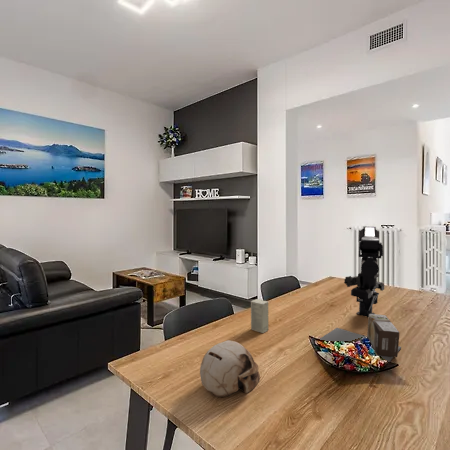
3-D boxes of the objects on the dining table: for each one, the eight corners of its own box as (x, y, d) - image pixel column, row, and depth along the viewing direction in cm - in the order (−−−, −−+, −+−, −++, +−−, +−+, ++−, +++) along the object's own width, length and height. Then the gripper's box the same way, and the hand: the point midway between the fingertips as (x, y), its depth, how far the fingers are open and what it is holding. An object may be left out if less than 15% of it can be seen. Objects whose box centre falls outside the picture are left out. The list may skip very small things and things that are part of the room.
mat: (337, 328, 125) (337, 327, 125) (401, 348, 108) (401, 346, 108) (313, 344, 111) (313, 342, 111) (382, 369, 94) (382, 367, 94)
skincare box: (268, 330, 123) (269, 301, 122) (262, 333, 120) (263, 304, 119) (256, 326, 127) (256, 298, 126) (250, 329, 124) (250, 300, 123)
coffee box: (368, 313, 117) (379, 329, 101) (386, 315, 115) (399, 331, 100) (366, 336, 117) (377, 355, 102) (384, 338, 116) (398, 358, 100)
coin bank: (261, 370, 92) (259, 330, 90) (255, 413, 76) (253, 366, 74) (212, 366, 96) (210, 327, 93) (196, 407, 79) (193, 361, 77)
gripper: (357, 265, 127) (355, 300, 128) (337, 271, 114) (336, 311, 115) (385, 269, 119) (383, 307, 120) (368, 276, 106) (366, 319, 107)
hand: (367, 310), depth 116 cm, fingers closed
